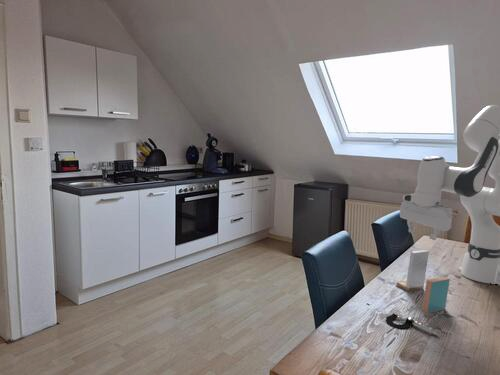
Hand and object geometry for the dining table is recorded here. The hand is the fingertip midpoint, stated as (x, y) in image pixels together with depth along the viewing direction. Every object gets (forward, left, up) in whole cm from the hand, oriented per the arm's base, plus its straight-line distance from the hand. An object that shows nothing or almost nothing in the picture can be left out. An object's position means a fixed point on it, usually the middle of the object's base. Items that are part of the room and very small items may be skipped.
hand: (421, 235), depth 139 cm
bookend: (0, -2, -22) cm, 22 cm away
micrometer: (+26, +20, -22) cm, 40 cm away
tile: (+7, +14, -22) cm, 27 cm away
